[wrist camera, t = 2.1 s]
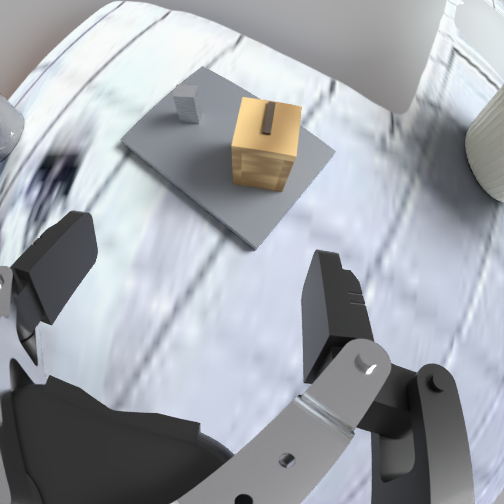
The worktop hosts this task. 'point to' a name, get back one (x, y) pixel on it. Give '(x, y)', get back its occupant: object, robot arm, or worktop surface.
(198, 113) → the metal shaft
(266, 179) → the ochre knob
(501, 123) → the canister
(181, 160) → the slate base plate
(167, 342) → the worktop surface
